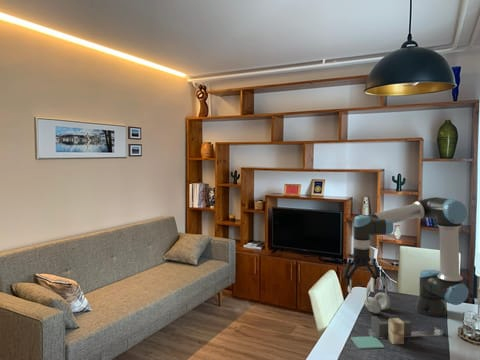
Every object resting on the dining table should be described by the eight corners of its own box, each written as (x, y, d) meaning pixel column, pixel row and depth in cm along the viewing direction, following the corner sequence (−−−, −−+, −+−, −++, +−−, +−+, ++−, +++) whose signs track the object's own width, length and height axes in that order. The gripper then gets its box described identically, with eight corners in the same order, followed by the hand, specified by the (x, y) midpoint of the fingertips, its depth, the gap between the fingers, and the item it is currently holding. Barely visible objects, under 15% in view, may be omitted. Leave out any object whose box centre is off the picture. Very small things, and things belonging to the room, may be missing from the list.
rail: (437, 331, 187) (437, 326, 187) (443, 335, 182) (443, 330, 182) (368, 333, 184) (368, 328, 184) (372, 338, 180) (372, 333, 180)
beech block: (398, 338, 179) (398, 318, 179) (403, 343, 174) (404, 322, 174) (388, 339, 179) (388, 318, 178) (393, 344, 174) (393, 323, 173)
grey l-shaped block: (401, 326, 191) (402, 315, 190) (411, 335, 182) (411, 323, 181) (371, 328, 190) (371, 316, 189) (379, 336, 181) (379, 324, 180)
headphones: (374, 318, 201) (374, 282, 200) (359, 313, 209) (360, 277, 207) (393, 310, 212) (394, 275, 211) (379, 305, 220) (380, 271, 218)
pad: (375, 337, 180) (375, 336, 180) (384, 347, 171) (384, 346, 171) (350, 338, 180) (350, 337, 180) (358, 349, 170) (358, 347, 170)
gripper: (381, 245, 189) (380, 288, 190) (335, 246, 187) (335, 289, 189) (388, 248, 181) (387, 293, 183) (341, 249, 180) (340, 295, 181)
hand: (360, 291), depth 186 cm, fingers open, 11 cm apart
